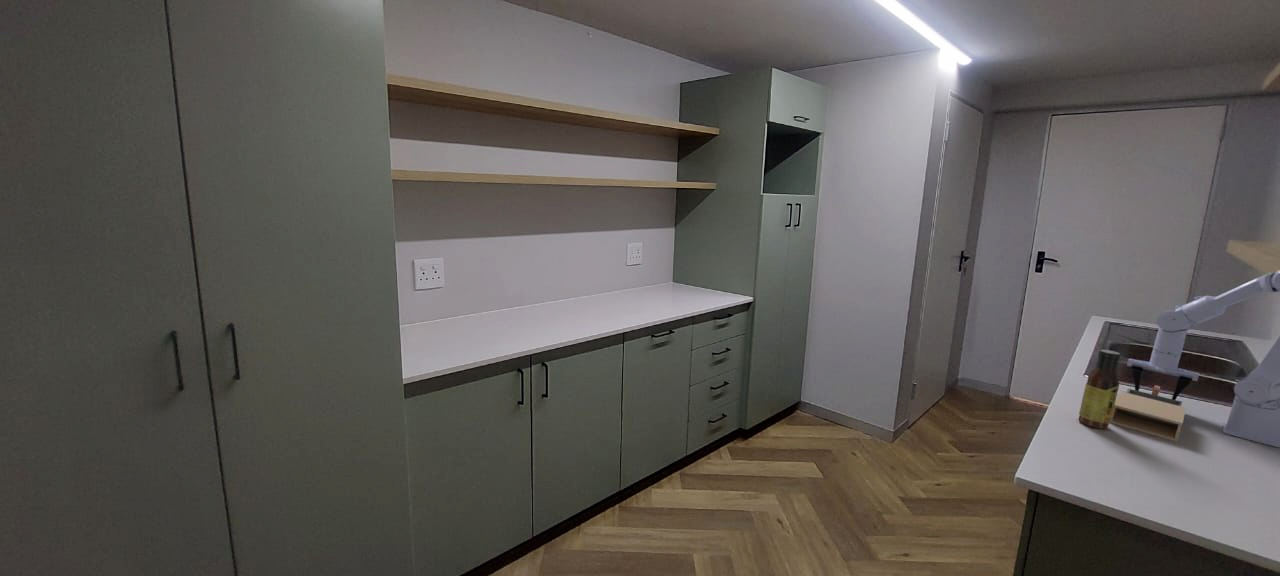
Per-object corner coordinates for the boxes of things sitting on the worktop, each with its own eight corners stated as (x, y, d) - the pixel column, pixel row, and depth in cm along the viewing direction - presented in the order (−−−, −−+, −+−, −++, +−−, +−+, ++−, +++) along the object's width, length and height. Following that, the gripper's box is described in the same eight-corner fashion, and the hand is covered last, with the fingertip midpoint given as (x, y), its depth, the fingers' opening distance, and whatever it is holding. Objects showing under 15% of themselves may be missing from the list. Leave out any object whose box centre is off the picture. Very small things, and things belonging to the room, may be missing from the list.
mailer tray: (1175, 426, 136) (1180, 410, 135) (1118, 411, 144) (1122, 396, 143) (1180, 406, 149) (1184, 392, 148) (1128, 393, 157) (1131, 379, 156)
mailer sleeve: (1177, 441, 129) (1182, 423, 128) (1108, 422, 139) (1112, 404, 138) (1181, 425, 139) (1186, 407, 138) (1116, 407, 148) (1120, 391, 147)
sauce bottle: (1109, 432, 132) (1128, 358, 128) (1077, 424, 136) (1095, 352, 132) (1107, 423, 138) (1125, 352, 133) (1076, 416, 141) (1093, 346, 137)
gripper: (1130, 347, 151) (1119, 391, 154) (1203, 361, 141) (1189, 408, 144) (1133, 343, 156) (1122, 385, 159) (1203, 356, 146) (1190, 402, 148)
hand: (1154, 396), depth 152 cm, fingers open, 7 cm apart
